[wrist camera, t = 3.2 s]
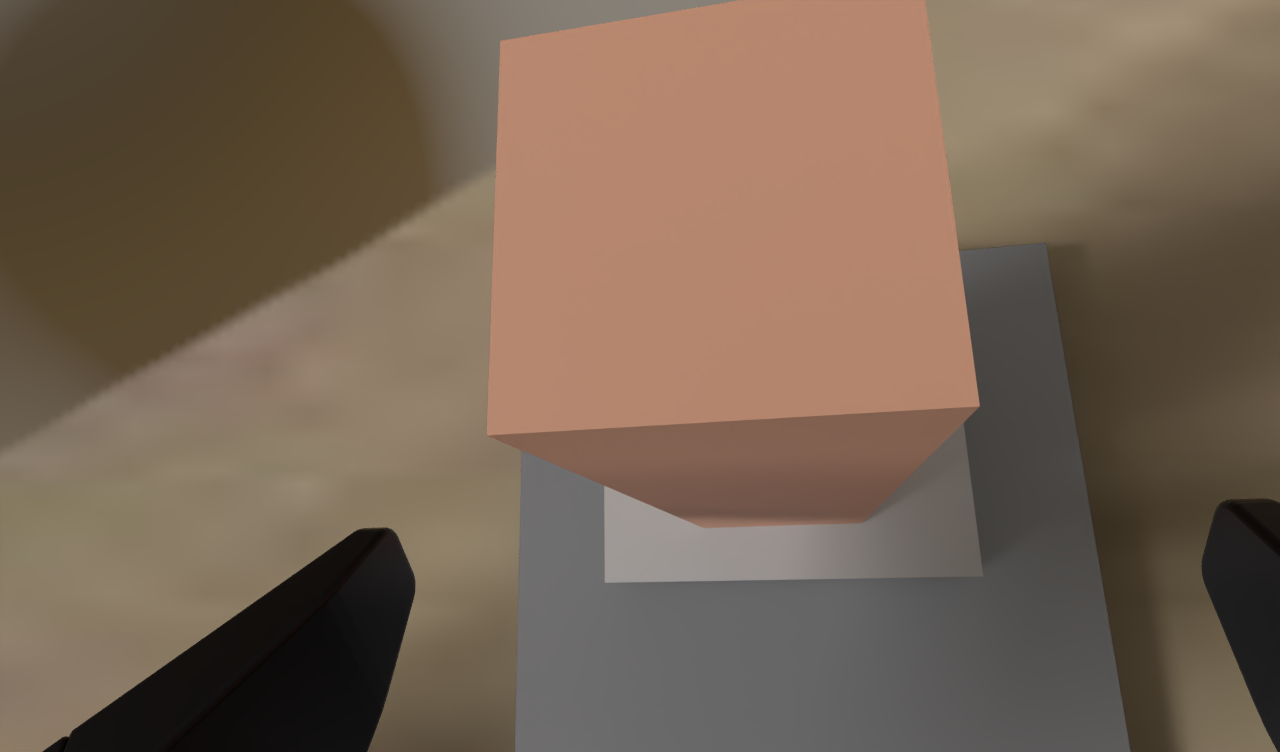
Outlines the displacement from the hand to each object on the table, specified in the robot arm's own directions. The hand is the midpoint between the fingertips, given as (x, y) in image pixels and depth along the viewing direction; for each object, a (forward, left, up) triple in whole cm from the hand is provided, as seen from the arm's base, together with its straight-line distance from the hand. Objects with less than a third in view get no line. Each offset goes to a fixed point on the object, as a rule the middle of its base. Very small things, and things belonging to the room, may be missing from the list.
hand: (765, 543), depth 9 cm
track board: (0, +1, -9) cm, 9 cm away
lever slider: (+1, -2, -8) cm, 8 cm away
